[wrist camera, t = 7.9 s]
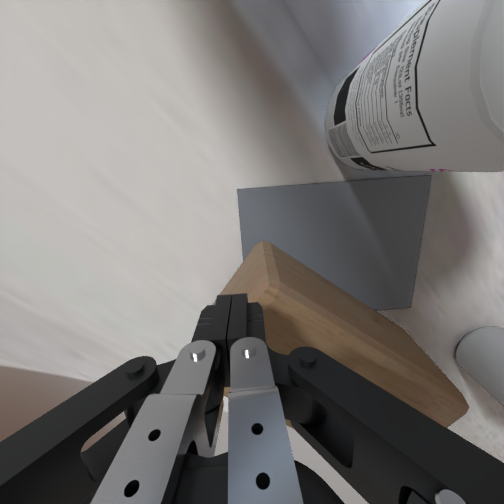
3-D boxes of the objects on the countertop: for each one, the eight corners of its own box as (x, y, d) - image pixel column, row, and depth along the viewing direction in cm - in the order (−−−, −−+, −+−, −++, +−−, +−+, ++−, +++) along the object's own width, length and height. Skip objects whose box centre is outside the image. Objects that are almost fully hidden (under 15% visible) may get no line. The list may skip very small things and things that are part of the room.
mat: (237, 189, 23) (237, 189, 23) (429, 175, 23) (431, 175, 23) (248, 316, 28) (248, 318, 28) (409, 306, 28) (410, 307, 27)
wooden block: (260, 233, 24) (404, 327, 28) (208, 307, 27) (345, 383, 31) (268, 280, 15) (481, 411, 19) (187, 385, 18) (387, 479, 22)
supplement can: (368, 40, 20) (672, -287, 6) (436, 109, 21) (806, -7, 7) (303, 131, 22) (403, 61, 8) (369, 187, 23) (555, 217, 9)
